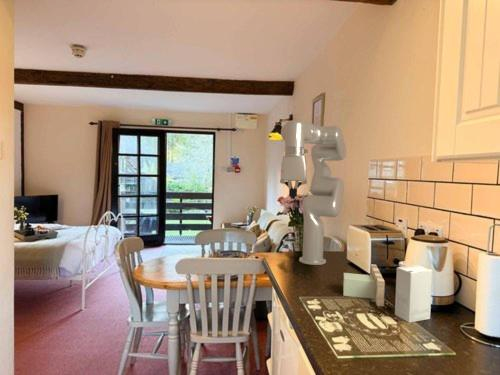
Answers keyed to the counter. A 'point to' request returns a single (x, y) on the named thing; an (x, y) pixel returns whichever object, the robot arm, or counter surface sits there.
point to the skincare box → (413, 293)
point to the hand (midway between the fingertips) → (292, 198)
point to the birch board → (378, 285)
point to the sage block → (358, 285)
